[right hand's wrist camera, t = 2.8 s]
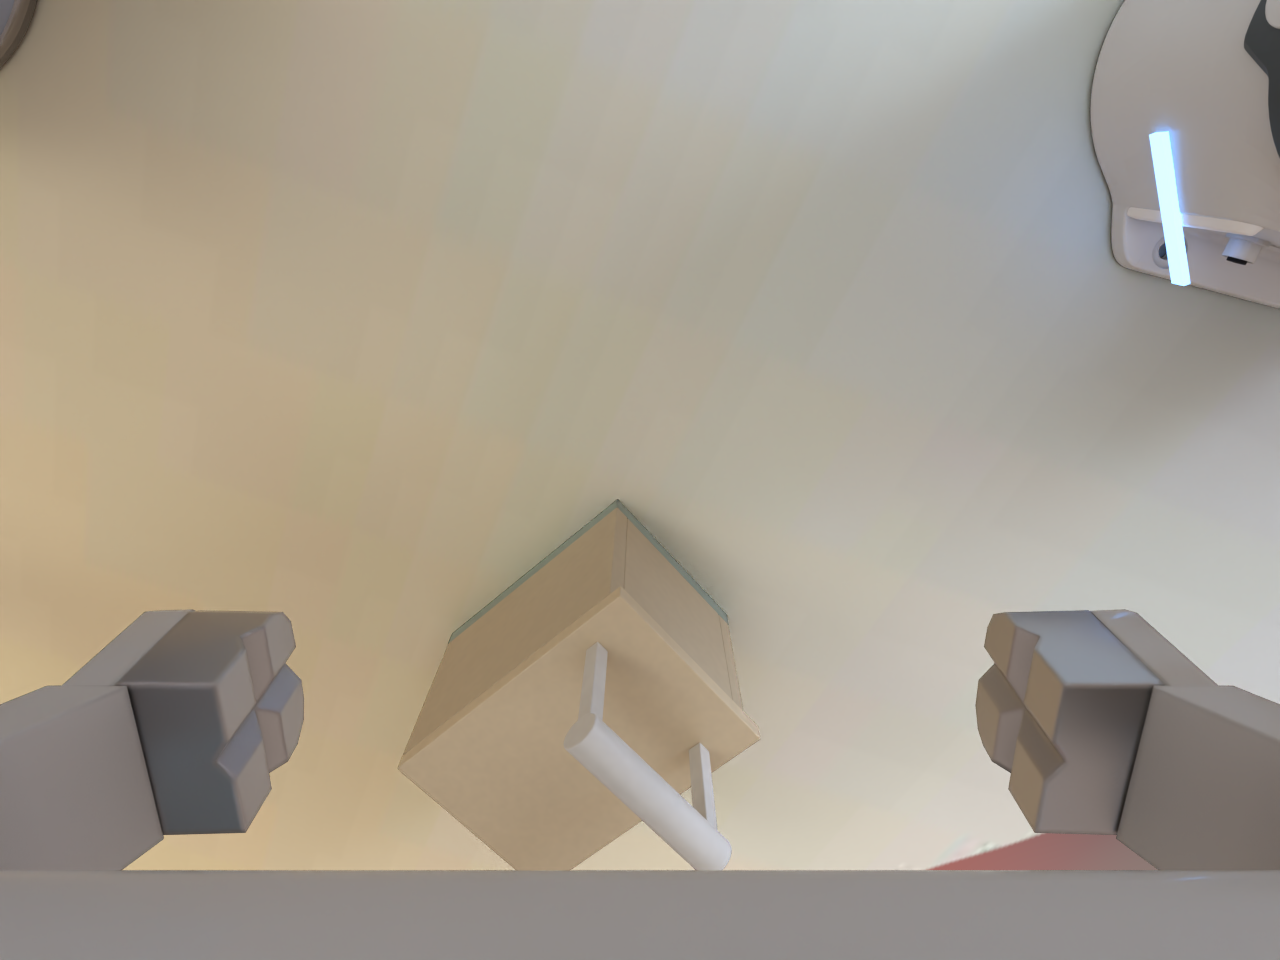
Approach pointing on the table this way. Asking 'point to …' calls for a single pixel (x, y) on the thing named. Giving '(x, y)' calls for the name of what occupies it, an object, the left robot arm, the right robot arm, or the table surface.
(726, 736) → the lid
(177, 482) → the table surface
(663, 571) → the chest
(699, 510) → the table surface
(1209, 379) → the table surface
